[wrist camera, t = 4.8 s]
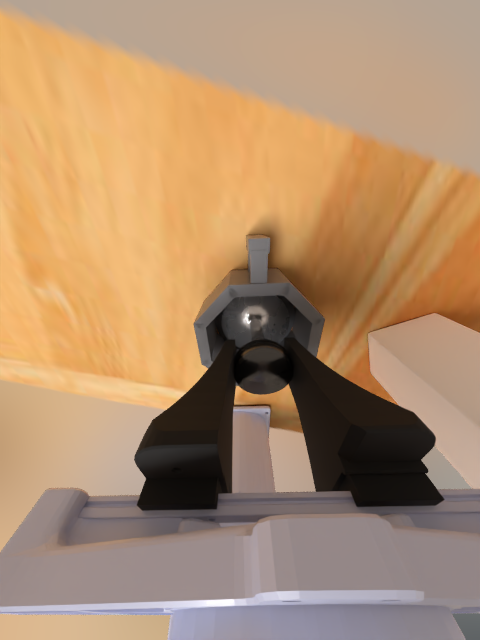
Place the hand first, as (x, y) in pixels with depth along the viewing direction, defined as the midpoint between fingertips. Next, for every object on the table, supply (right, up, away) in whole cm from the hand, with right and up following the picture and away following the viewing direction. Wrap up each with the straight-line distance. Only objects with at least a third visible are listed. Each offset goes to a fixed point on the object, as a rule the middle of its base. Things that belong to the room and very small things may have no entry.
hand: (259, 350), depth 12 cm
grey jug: (0, +3, +4) cm, 5 cm away
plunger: (0, +2, +4) cm, 4 cm away
